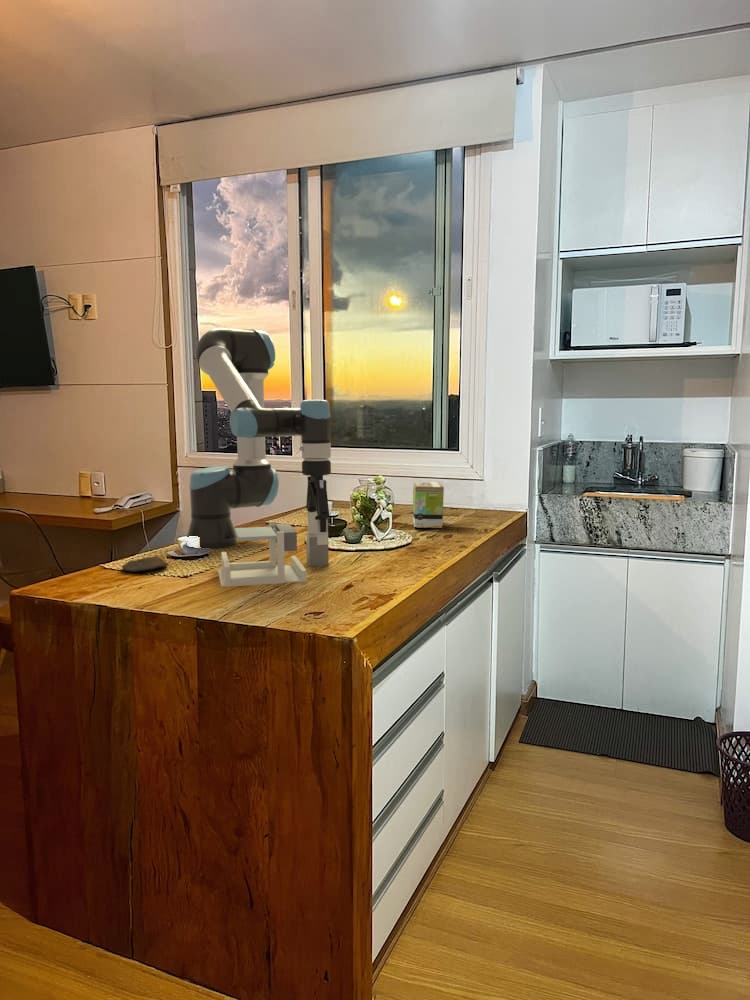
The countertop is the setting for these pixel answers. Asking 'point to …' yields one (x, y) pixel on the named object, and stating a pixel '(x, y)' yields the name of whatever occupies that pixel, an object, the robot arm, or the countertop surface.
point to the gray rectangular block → (316, 551)
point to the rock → (145, 564)
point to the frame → (263, 567)
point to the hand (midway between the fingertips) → (317, 540)
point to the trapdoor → (269, 535)
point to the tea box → (428, 504)
